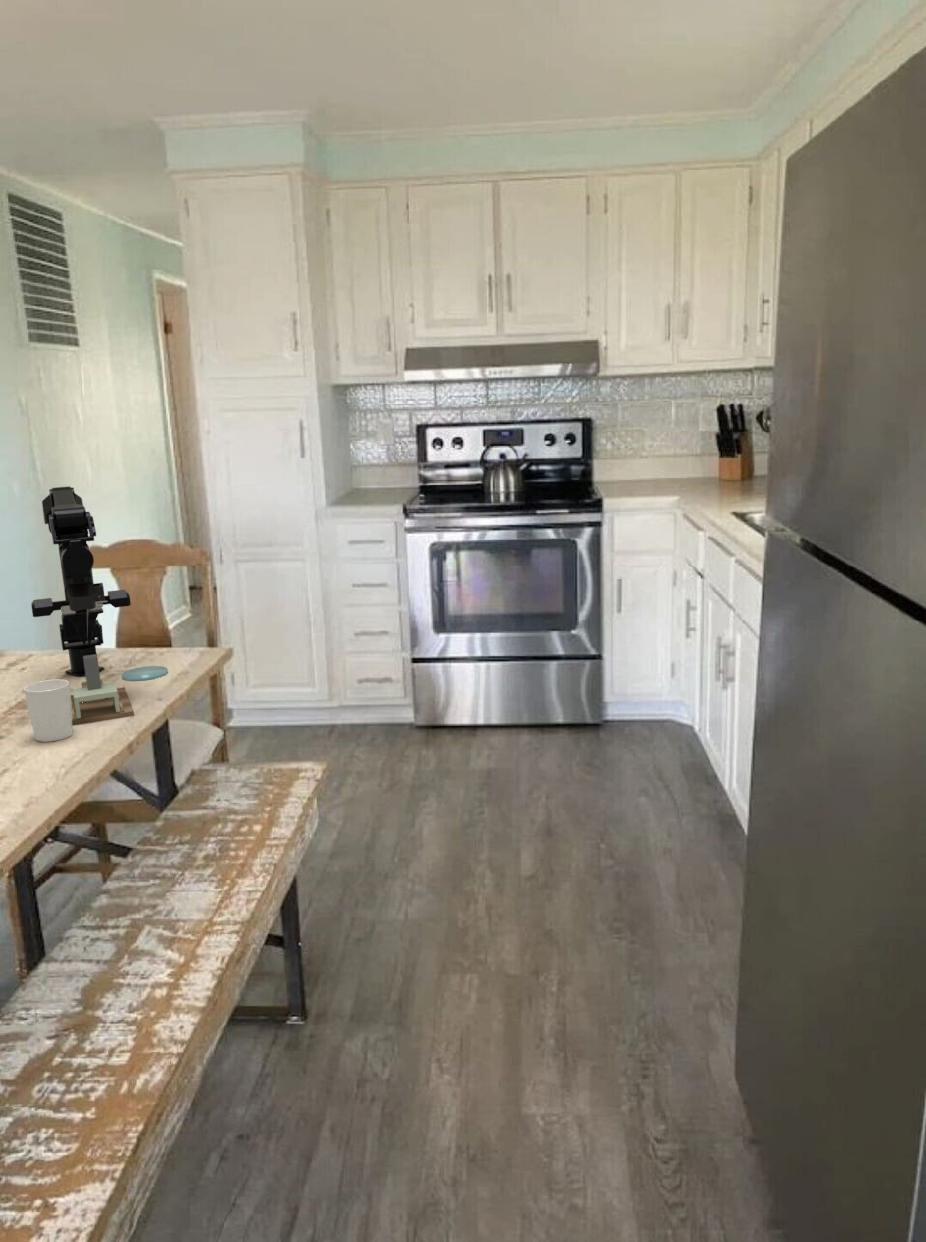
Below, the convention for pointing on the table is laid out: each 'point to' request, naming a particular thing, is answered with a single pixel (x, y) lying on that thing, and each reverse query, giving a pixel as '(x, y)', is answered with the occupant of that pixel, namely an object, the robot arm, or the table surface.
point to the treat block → (84, 684)
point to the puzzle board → (102, 709)
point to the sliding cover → (94, 686)
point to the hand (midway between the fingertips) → (86, 644)
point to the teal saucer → (144, 673)
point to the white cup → (50, 709)
